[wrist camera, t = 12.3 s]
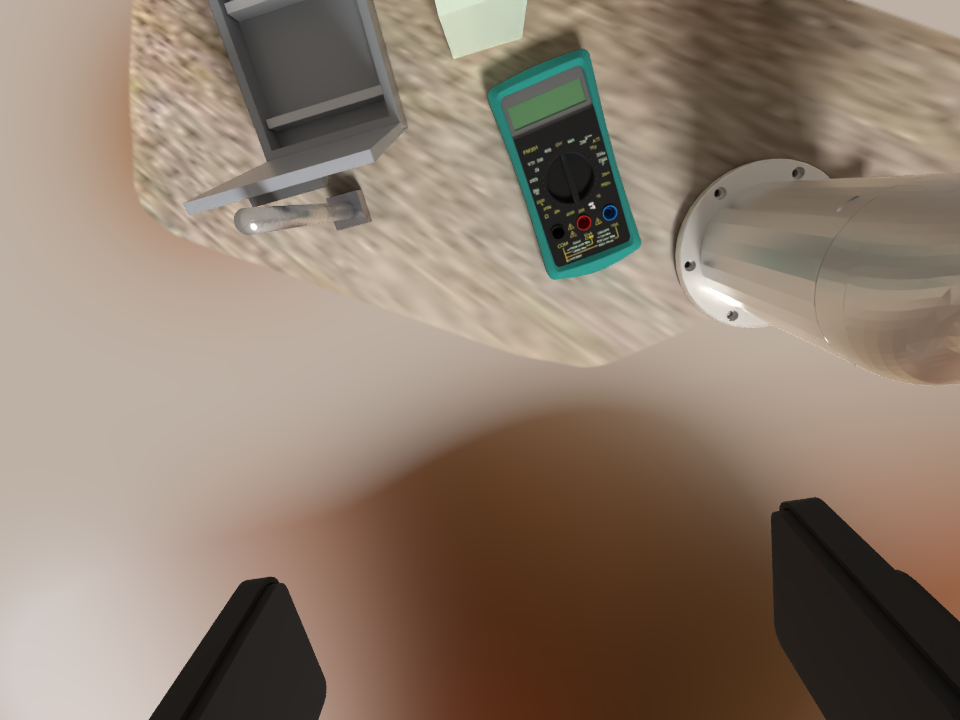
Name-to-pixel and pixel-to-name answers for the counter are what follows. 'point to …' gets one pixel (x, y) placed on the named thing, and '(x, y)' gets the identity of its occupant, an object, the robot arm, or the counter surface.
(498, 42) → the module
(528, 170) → the digital multimeter
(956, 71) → the counter surface
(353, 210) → the clear capped tube
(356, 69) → the case
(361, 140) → the lid
